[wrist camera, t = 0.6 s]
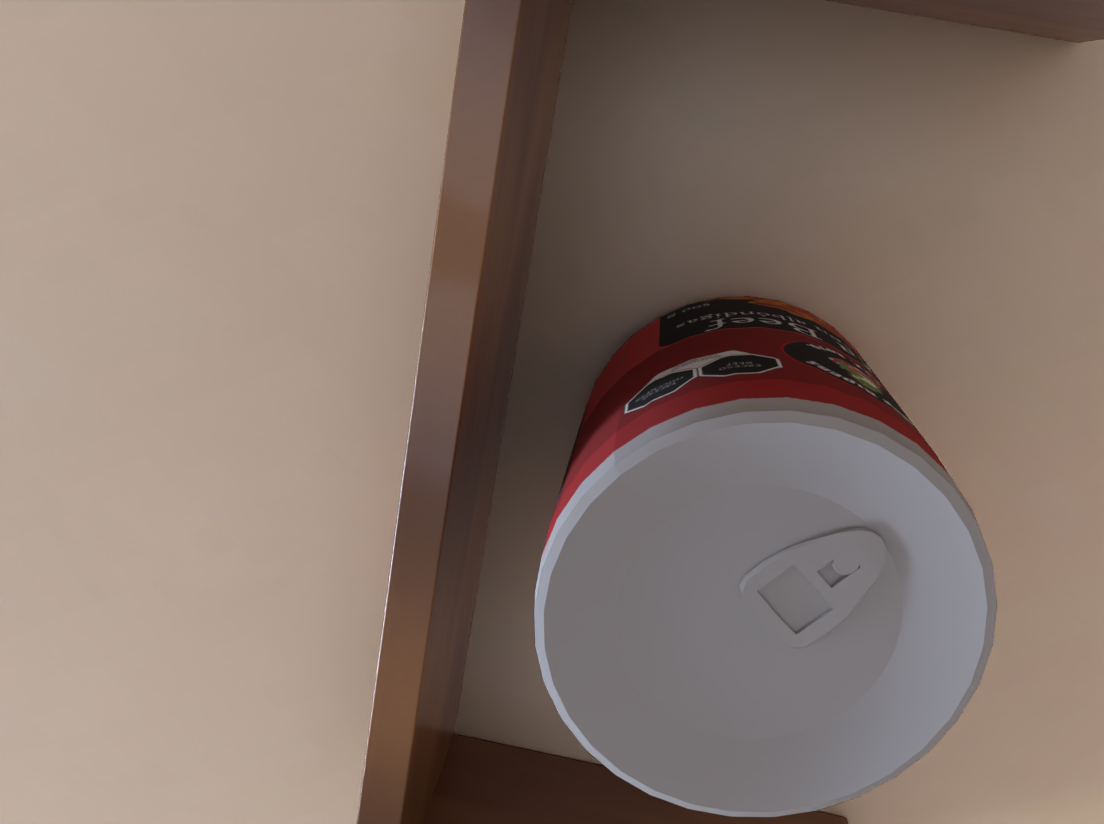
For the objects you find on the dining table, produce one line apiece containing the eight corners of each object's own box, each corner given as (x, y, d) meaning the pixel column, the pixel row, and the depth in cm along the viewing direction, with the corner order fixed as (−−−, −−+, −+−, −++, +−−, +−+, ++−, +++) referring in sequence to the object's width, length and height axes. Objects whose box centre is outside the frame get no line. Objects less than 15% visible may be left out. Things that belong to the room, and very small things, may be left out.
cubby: (544, -93, 25) (488, -179, 17) (1094, -2, 24) (1287, -51, 17) (417, 754, 32) (338, 957, 24) (839, 844, 31) (892, 1082, 24)
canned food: (938, 392, 27) (1105, 573, 17) (756, 617, 30) (802, 900, 19) (694, 228, 27) (708, 310, 16) (528, 470, 29) (448, 678, 19)
